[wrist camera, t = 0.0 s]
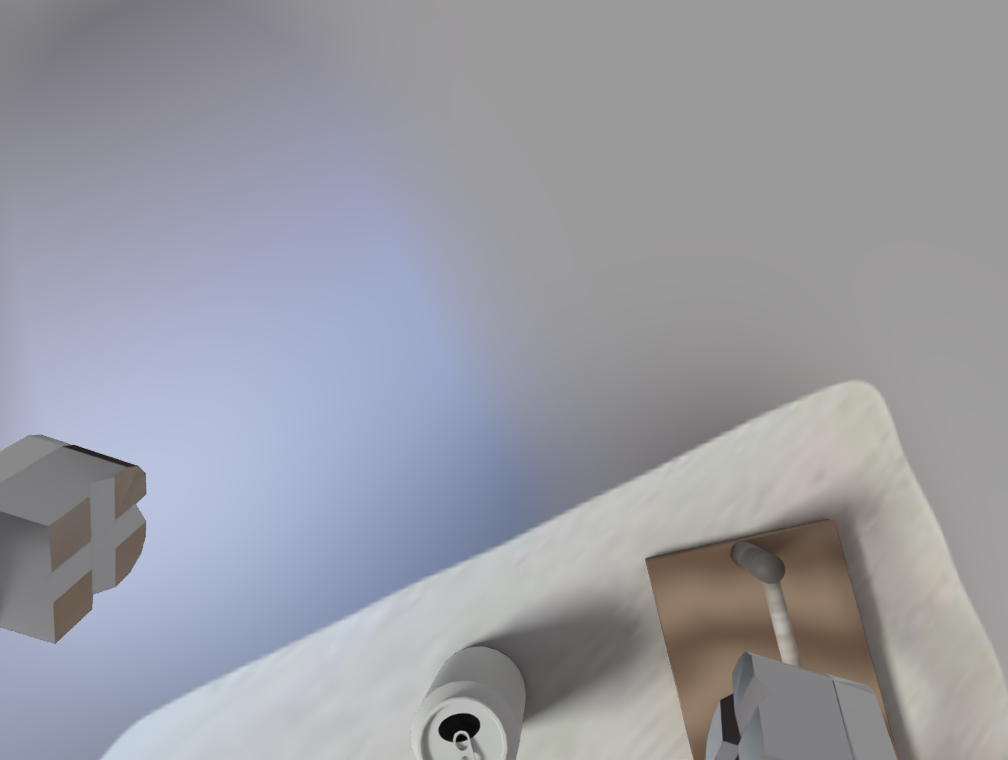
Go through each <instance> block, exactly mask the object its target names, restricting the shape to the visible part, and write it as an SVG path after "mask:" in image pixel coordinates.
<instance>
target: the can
mask: <svg viewBox="0 0 1008 760" xmlns="http://www.w3.org/2000/svg"><path fill="white" fill-rule="evenodd" d="M525 702H526V692H525V683H524V680H523V678H522V676H521V673H520V671H519V669H518V668H517V666H516V665H515V664H514V663H513V662H512V660H511V659H510V658H509V657H507V656H506V655H504V654H502V653H501V652H499V651H498V650H495V649H491V648H487V647H483V646H482V647H469V648H466V649H464V650H461V651H459V652H457V653H455V654H454V655H453V656H452V657H450V658H449V659H448V660H447V661H446V662H445V663H444V664H443V666H442V668H441V670H440V671H439V673H438V675H437V676H436V678H435V680H434V682H433V683H432V685H431V687H430V689H429V691H428V692H427V694H426V696H425V698H424V699H423V701H422V703H421V705H420V706H419V708H418V710H417V712H416V714H415V716H414V721H413V725H412V730H411V738H412V750H413V752H414V755H415V757H416V760H516V756H517V751H518V747H519V742H520V735H521V729H522V722H523V715H524V709H525Z"/></svg>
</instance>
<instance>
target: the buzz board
mask: <svg viewBox="0 0 1008 760" xmlns="http://www.w3.org/2000/svg"><path fill="white" fill-rule="evenodd" d="M645 560H646V565H647V569H648V573H649V577H650V581H651V585H652V589H653V594H654V598H655V602H656V606H657V610H658V614H659V618H660V623H661V627H662V631H663V635H664V639H665V643H666V647H667V652H668V656H669V660H670V664H671V668H672V672H673V677H674V681H675V685H676V689H677V693H678V697H679V701H680V706H681V710H682V714H683V718H684V722H685V726H686V730H687V735H688V739H689V743H690V747H691V751H692V755H693V759H694V760H705V759H706V746H707V739H708V734H709V730H710V726H711V721H712V718H713V716H714V713H715V711H716V708H717V706H718V704H719V701H720V700H721V699H723V698H725V697H727V696H729V695H731V694H733V685H732V672H733V670H734V668H735V666H736V664H737V661H738V659H739V658H740V657H741V656H742V654H743V653H744V652H745V651H747V652H750V653H754V654H757V655H760V656H764V657H767V658H770V659H774V660H777V661H780V662H784V663H787V664H790V665H794V666H797V667H800V668H804V669H807V670H810V671H814V672H817V673H820V674H823V675H827V674H828V675H832V676H835V677H839V678H843V679H846V680H850V681H853V682H857V683H860V684H864V685H868V686H869V687H870V688H871V689H872V690H873V691H874V692H875V695H876V698H877V701H878V704H879V707H880V710H881V713H882V716H883V719H884V722H885V725H886V728H887V731H888V734H889V737H890V740H891V743H892V746H893V749H894V752H895V755H896V759H897V760H899V759H898V755H897V751H896V748H895V744H894V740H893V737H892V733H891V729H890V725H889V722H888V718H887V714H886V711H885V707H884V703H883V699H882V696H881V692H880V688H879V685H878V681H877V677H876V673H875V670H874V666H873V662H872V659H871V655H870V651H869V647H868V644H867V640H866V636H865V633H864V629H863V625H862V621H861V618H860V614H859V610H858V607H857V603H856V599H855V595H854V592H853V588H852V584H851V581H850V577H849V573H848V569H847V566H846V562H845V558H844V555H843V551H842V547H841V543H840V540H839V536H838V532H837V529H836V525H835V521H833V520H829V519H826V520H821V521H817V522H812V523H808V524H803V525H798V526H794V527H789V528H785V529H780V530H776V531H771V532H766V533H762V534H757V535H753V536H748V537H743V538H739V539H734V540H730V541H725V542H720V543H716V544H711V545H707V546H702V547H698V548H693V549H688V550H684V551H679V552H675V553H670V554H665V555H661V556H656V557H652V558H647V559H645Z"/></svg>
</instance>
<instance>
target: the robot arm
mask: <svg viewBox="0 0 1008 760" xmlns="http://www.w3.org/2000/svg"><path fill="white" fill-rule="evenodd" d="M145 495H146V473H145V472H144V471H143V470H142V469H141V468H140V467H139V466H137V465H134V464H130V463H127V462H124V461H122V460H119V459H116V458H113V457H110V456H106V455H103V454H100V453H97V452H94V451H91V450H88V449H85V448H82V447H79V446H76V445H70V444H68V443H66V442H63V441H59V440H56V439H53V438H50V437H47V436H44V435H28V436H26V437H25V438H23V439H21V440H19V441H18V442H16V443H14V444H12V445H11V446H9V447H7V448H6V449H4V450H2V451H0V628H4V629H7V630H11V631H14V632H17V633H20V634H24V635H27V636H31V637H34V638H37V639H40V640H44V641H47V642H50V643H54V644H56V643H57V641H59V640H60V639H61V638H62V637H63V636H64V635H65V634H66V633H67V632H68V631H69V630H70V629H71V628H73V627H74V625H76V624H77V623H78V622H79V621H80V620H81V619H82V618H83V617H84V616H85V615H86V614H87V613H88V612H90V611H91V610H92V603H93V594H96V593H99V592H102V591H105V590H108V589H111V588H114V587H116V586H117V585H118V584H119V583H120V582H121V581H122V580H123V579H124V578H125V577H126V576H127V575H128V574H129V573H130V572H131V570H132V568H133V566H134V565H135V563H136V561H137V559H138V557H139V556H140V554H141V552H142V548H143V544H144V541H145V537H146V520H145V519H144V517H143V515H142V514H141V512H140V511H139V509H138V507H137V505H136V503H137V502H138V501H140V500H141V499H142V498H143V497H144V496H145ZM732 685H733V694H731V695H729V696H727V697H725V698H723V699H721V700H720V701H719V704H718V706H717V708H716V711H715V713H714V716H713V718H712V721H711V726H710V730H709V734H708V739H707V746H706V759H705V760H897V759H896V755H895V752H894V749H893V746H892V743H891V740H890V737H889V734H888V731H887V728H886V725H885V722H884V719H883V716H882V713H881V710H880V707H879V704H878V701H877V698H876V695H875V692H874V691H873V690H872V689H871V688H870V687H869V686H868V685H864V684H860V683H857V682H853V681H850V680H846V679H843V678H839V677H835V676H832V675H828V674H827V675H823V674H820V673H817V672H814V671H810V670H807V669H804V668H800V667H797V666H794V665H790V664H787V663H784V662H780V661H777V660H774V659H770V658H767V657H764V656H760V655H757V654H754V653H750V652H747V651H745V652H744V653H743V654H742V656H741V657H740V658H739V659H738V661H737V664H736V666H735V668H734V670H733V672H732Z"/></svg>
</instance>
